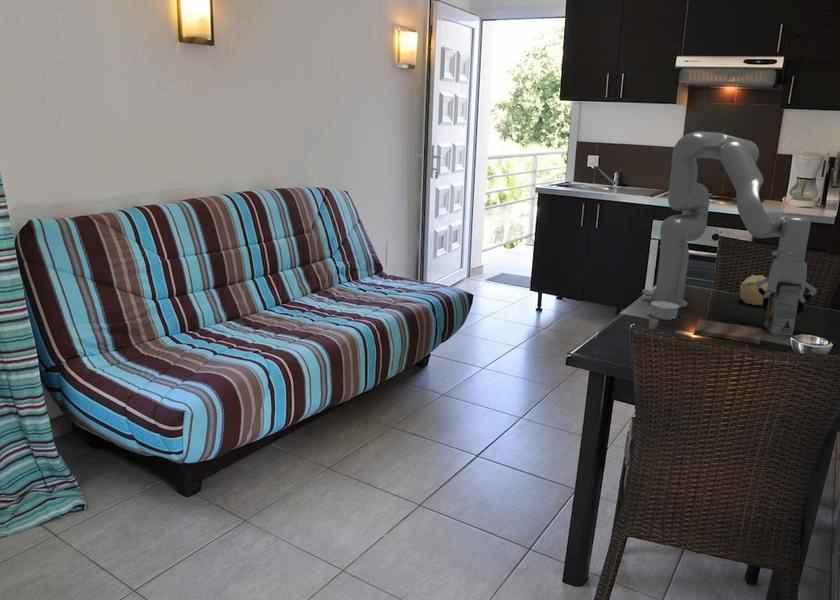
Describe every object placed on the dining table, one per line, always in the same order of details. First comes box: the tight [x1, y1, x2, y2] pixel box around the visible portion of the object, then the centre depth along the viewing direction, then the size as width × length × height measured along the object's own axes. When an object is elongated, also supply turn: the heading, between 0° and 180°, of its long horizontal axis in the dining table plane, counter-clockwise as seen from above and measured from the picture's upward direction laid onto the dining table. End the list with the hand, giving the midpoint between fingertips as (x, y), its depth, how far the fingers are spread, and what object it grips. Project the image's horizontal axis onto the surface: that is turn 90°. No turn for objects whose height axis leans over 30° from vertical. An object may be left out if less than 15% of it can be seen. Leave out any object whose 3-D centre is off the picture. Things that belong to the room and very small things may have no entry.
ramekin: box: [650, 301, 680, 321], centre depth 228 cm, size 9×9×4 cm
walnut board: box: [693, 319, 762, 346], centre depth 212 cm, size 18×14×2 cm
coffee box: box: [764, 282, 801, 336], centre depth 215 cm, size 9×6×16 cm
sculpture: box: [739, 274, 769, 306], centre depth 250 cm, size 12×12×11 cm
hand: (781, 311), depth 216 cm, fingers open, 8 cm apart
